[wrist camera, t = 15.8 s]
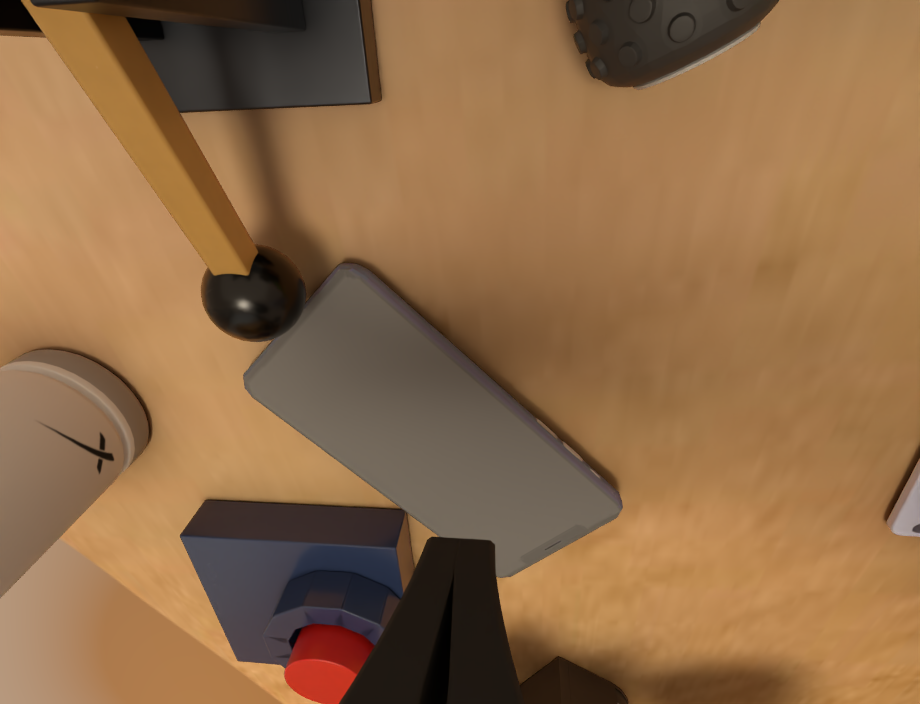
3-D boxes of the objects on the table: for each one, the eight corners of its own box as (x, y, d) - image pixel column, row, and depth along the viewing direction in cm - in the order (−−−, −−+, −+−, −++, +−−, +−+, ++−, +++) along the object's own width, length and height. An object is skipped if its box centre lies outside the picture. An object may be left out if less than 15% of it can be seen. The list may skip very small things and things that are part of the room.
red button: (370, 622, 22) (359, 663, 21) (380, 668, 24) (371, 709, 22) (291, 616, 23) (275, 656, 21) (307, 662, 24) (293, 701, 23)
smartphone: (345, 256, 17) (634, 512, 21) (354, 247, 17) (630, 495, 21) (232, 386, 20) (500, 586, 24) (244, 373, 21) (501, 568, 25)
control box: (411, 509, 24) (392, 586, 20) (428, 636, 28) (415, 716, 25) (205, 499, 25) (153, 570, 21) (255, 623, 30) (220, 697, 26)
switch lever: (327, 289, 18) (306, 361, 16) (246, 289, 18) (216, 359, 16) (46, -334, 7) (-107, -316, 5) (-139, -304, 7) (-337, -279, 6)
